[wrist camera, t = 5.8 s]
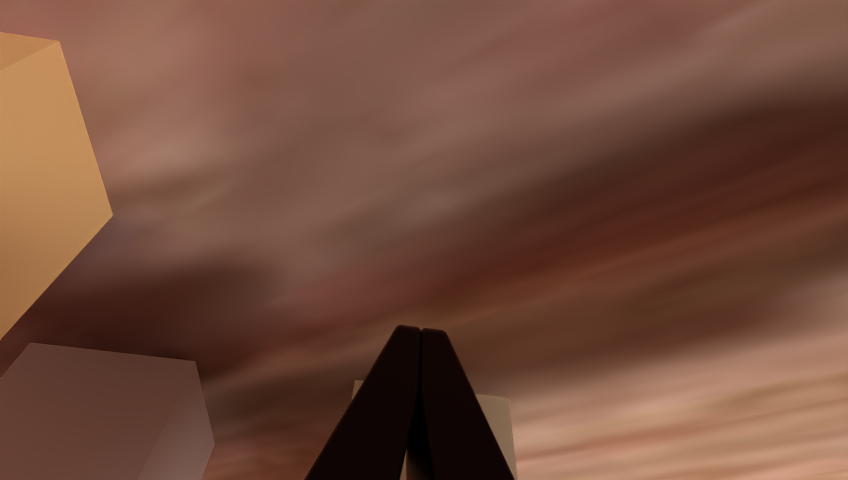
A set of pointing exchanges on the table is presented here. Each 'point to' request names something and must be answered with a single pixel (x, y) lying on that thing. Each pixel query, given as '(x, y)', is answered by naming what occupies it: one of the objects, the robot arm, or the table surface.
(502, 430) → the tan cube
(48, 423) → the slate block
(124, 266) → the table surface
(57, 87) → the mustard block
